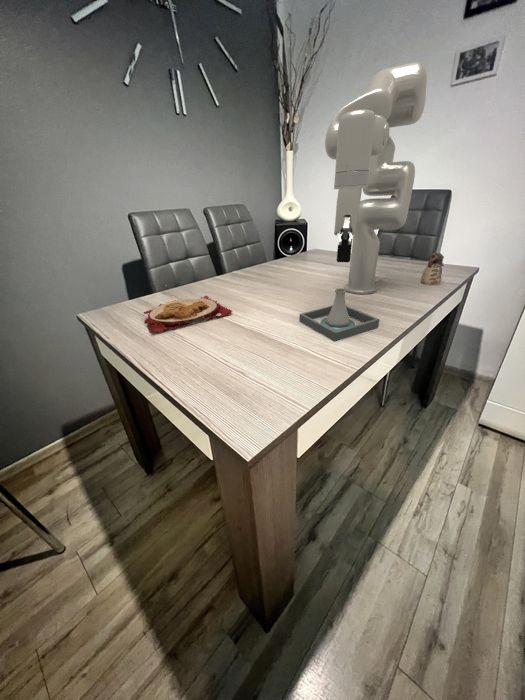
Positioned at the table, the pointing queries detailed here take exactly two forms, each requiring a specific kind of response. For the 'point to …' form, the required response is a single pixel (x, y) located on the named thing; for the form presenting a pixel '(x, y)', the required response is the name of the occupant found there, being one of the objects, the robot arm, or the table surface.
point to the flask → (338, 310)
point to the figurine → (433, 270)
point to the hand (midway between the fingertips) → (343, 257)
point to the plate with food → (183, 313)
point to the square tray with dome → (339, 332)
